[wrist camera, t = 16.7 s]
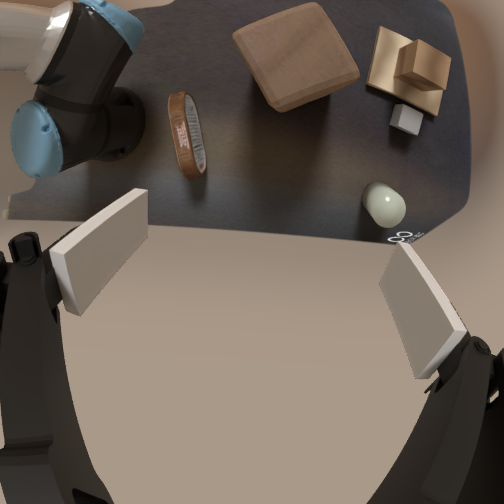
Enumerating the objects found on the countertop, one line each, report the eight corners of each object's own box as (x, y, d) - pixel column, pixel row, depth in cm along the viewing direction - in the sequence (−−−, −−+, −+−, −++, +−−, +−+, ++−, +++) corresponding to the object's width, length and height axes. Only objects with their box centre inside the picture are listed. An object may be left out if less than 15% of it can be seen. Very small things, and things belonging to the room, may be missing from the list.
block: (333, 93, 38) (365, 78, 20) (279, 114, 41) (273, 113, 23) (305, 43, 34) (317, -3, 16) (251, 65, 37) (225, 31, 19)
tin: (180, 95, 41) (160, 93, 33) (197, 91, 40) (179, 87, 33) (196, 174, 47) (179, 186, 40) (212, 171, 47) (198, 182, 39)
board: (365, 83, 36) (368, 82, 34) (378, 28, 30) (380, 26, 28) (433, 115, 36) (437, 115, 34) (444, 62, 30) (447, 61, 28)
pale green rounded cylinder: (357, 207, 46) (366, 221, 40) (367, 176, 44) (379, 187, 37) (384, 216, 46) (397, 231, 40) (395, 187, 44) (410, 199, 37)
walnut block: (393, 76, 33) (412, 71, 26) (399, 48, 30) (418, 39, 23) (422, 91, 33) (445, 89, 26) (428, 63, 30) (450, 58, 23)
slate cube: (389, 124, 38) (397, 125, 35) (394, 104, 36) (403, 104, 33) (408, 133, 38) (417, 135, 35) (413, 113, 36) (423, 114, 33)
